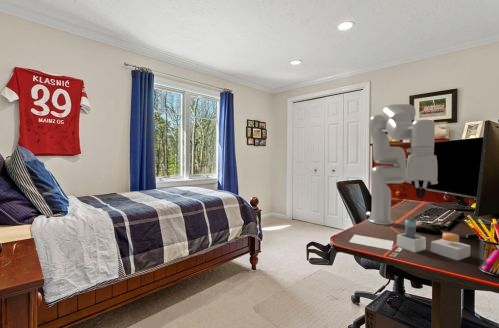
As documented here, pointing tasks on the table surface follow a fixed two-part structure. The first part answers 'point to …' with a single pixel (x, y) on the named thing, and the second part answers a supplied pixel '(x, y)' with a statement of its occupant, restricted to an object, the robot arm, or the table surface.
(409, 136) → the robot arm
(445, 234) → the button
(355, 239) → the paper
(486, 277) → the table surface
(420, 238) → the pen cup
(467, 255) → the button box
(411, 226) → the marker
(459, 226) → the table surface
